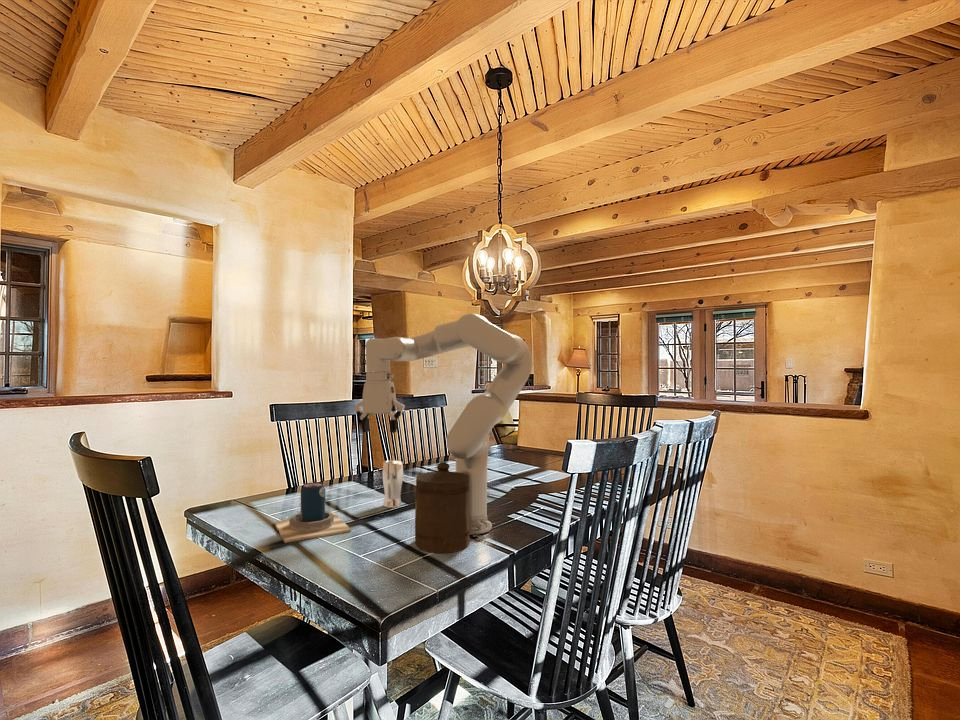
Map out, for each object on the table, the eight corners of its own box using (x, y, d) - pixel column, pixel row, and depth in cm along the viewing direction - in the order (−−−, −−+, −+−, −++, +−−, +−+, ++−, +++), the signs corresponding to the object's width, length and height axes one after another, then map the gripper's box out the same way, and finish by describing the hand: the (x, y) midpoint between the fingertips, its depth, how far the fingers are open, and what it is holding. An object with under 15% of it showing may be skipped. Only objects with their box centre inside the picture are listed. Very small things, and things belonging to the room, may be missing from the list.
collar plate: (350, 531, 143) (350, 520, 143) (284, 542, 133) (284, 530, 133) (334, 515, 158) (334, 504, 158) (274, 523, 149) (274, 513, 149)
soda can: (330, 524, 147) (330, 483, 147) (311, 530, 141) (311, 488, 141) (314, 520, 150) (314, 480, 151) (295, 526, 145) (295, 485, 145)
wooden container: (441, 530, 145) (442, 455, 145) (480, 542, 136) (481, 462, 136) (403, 544, 133) (404, 462, 134) (443, 558, 124) (444, 470, 124)
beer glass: (391, 501, 174) (391, 459, 174) (406, 504, 170) (407, 461, 171) (377, 506, 168) (378, 462, 168) (393, 509, 165) (394, 464, 165)
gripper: (408, 377, 157) (409, 431, 157) (360, 378, 162) (361, 430, 162) (397, 377, 150) (399, 434, 149) (347, 378, 155) (349, 433, 154)
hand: (379, 432), depth 155 cm, fingers open, 9 cm apart
